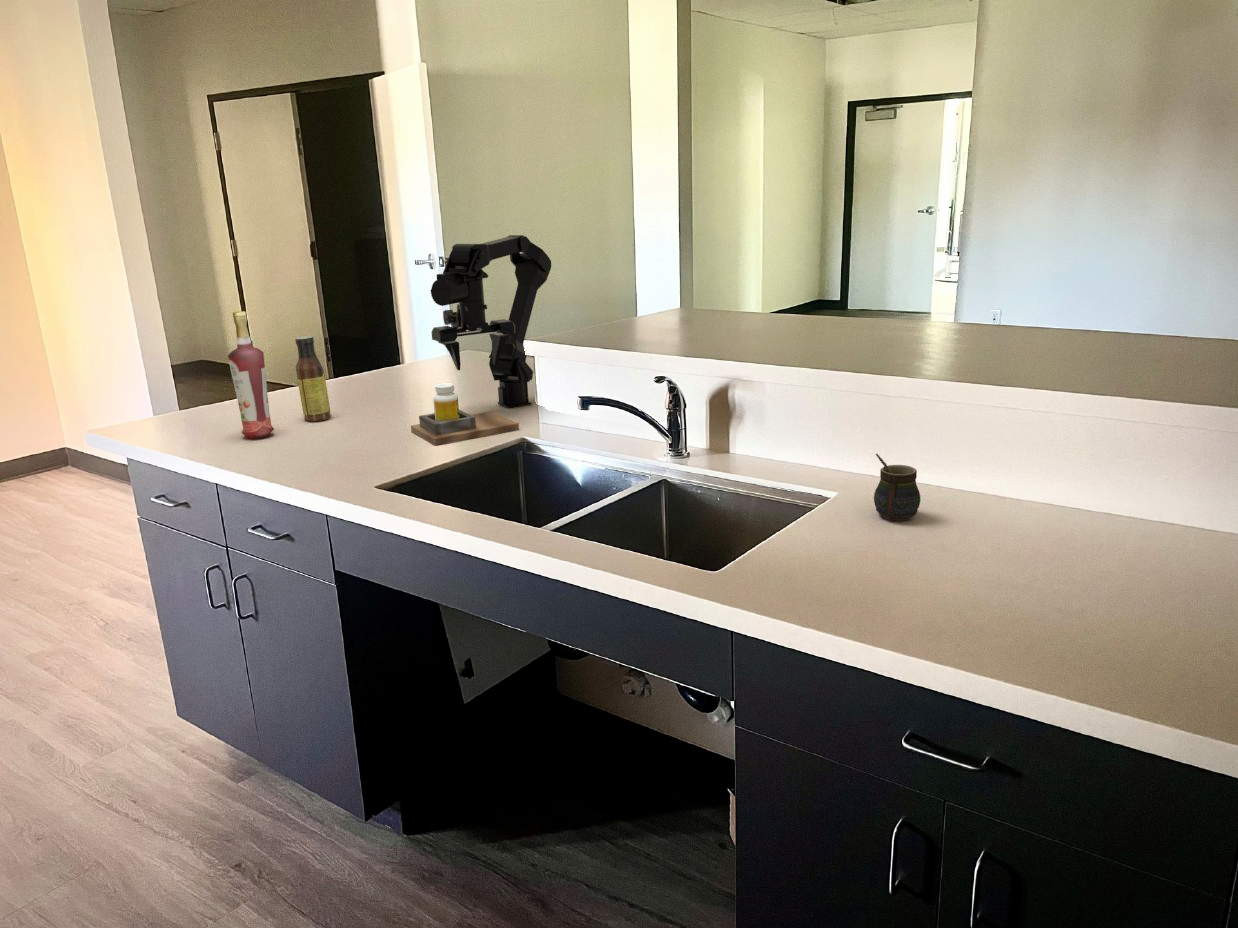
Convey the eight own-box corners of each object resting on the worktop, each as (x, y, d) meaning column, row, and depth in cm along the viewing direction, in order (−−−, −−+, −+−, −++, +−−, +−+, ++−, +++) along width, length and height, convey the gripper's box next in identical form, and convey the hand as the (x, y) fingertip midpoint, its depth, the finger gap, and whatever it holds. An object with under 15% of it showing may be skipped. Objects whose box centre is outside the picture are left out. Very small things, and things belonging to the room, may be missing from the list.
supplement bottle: (433, 426, 202) (429, 384, 199) (456, 423, 204) (452, 381, 201) (439, 431, 197) (435, 389, 194) (463, 428, 199) (459, 385, 196)
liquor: (281, 435, 204) (263, 311, 195) (250, 442, 199) (230, 315, 190) (266, 430, 209) (247, 308, 200) (235, 437, 204) (214, 313, 195)
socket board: (492, 417, 214) (490, 401, 212) (519, 429, 202) (517, 412, 201) (411, 431, 203) (409, 414, 202) (435, 445, 192) (433, 427, 191)
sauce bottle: (336, 417, 218) (326, 335, 212) (318, 423, 213) (307, 340, 207) (315, 415, 221) (304, 334, 215) (297, 421, 216) (285, 338, 210)
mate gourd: (913, 527, 140) (916, 466, 137) (865, 520, 144) (867, 460, 141) (925, 512, 146) (928, 453, 143) (878, 505, 150) (881, 448, 147)
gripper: (493, 293, 217) (498, 357, 222) (419, 300, 207) (426, 367, 212) (514, 297, 208) (518, 364, 213) (438, 305, 198) (444, 375, 203)
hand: (476, 367), depth 210 cm, fingers open, 9 cm apart
